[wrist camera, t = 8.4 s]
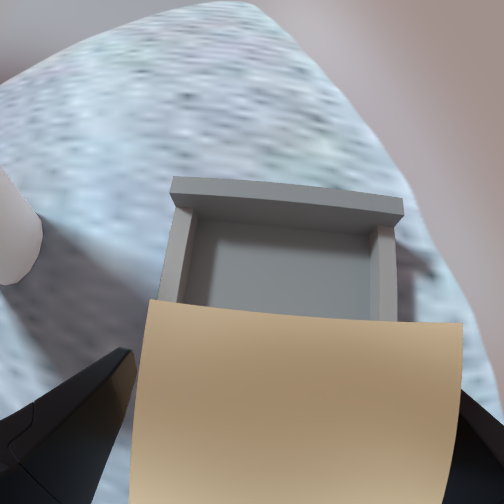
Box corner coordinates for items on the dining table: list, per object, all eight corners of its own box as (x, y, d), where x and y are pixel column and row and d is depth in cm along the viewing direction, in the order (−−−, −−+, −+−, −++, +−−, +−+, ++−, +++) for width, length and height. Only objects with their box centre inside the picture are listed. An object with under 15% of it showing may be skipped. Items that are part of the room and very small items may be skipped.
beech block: (313, 449, 14) (415, 577, 3) (215, 441, 14) (130, 570, 3) (323, 357, 16) (462, 323, 4) (225, 349, 16) (149, 298, 5)
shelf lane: (362, 489, 14) (387, 514, 10) (151, 472, 14) (126, 494, 10) (378, 229, 19) (402, 198, 15) (187, 212, 20) (173, 176, 16)
